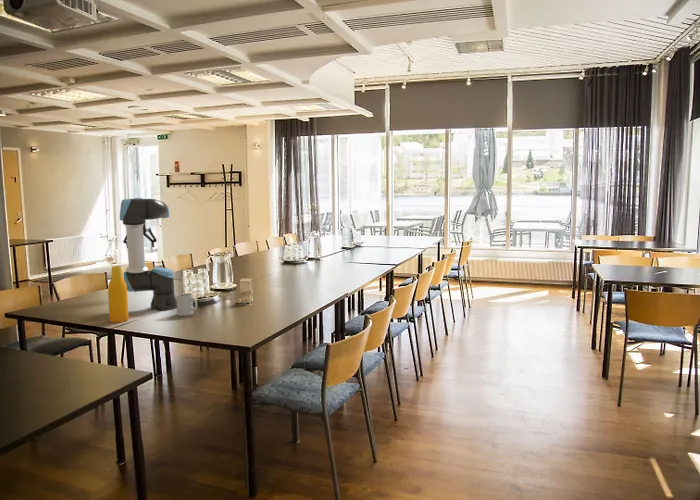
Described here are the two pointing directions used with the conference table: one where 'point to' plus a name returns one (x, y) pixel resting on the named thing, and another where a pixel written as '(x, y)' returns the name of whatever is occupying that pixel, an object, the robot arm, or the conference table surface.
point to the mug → (185, 304)
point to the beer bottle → (117, 297)
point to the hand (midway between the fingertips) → (140, 252)
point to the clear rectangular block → (246, 290)
